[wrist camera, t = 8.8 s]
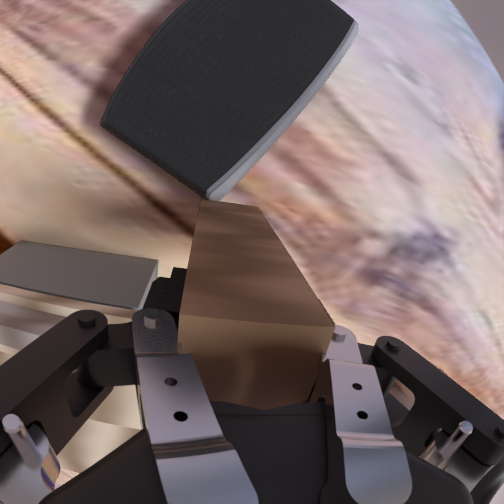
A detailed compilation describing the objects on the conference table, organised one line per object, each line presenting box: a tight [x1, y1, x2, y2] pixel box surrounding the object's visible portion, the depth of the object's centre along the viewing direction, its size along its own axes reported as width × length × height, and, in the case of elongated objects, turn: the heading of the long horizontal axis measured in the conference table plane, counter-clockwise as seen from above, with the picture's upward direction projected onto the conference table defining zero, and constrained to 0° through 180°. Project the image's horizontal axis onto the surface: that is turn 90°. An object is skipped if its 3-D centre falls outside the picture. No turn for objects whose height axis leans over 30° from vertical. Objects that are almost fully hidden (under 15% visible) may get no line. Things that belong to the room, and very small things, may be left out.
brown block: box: [177, 199, 336, 410], centre depth 15 cm, size 4×4×15 cm
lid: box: [0, 284, 142, 473], centre depth 18 cm, size 14×22×3 cm, turn 170°
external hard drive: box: [100, 0, 358, 201], centre depth 19 cm, size 13×19×4 cm
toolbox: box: [0, 241, 158, 377], centre depth 24 cm, size 14×22×8 cm, turn 170°
